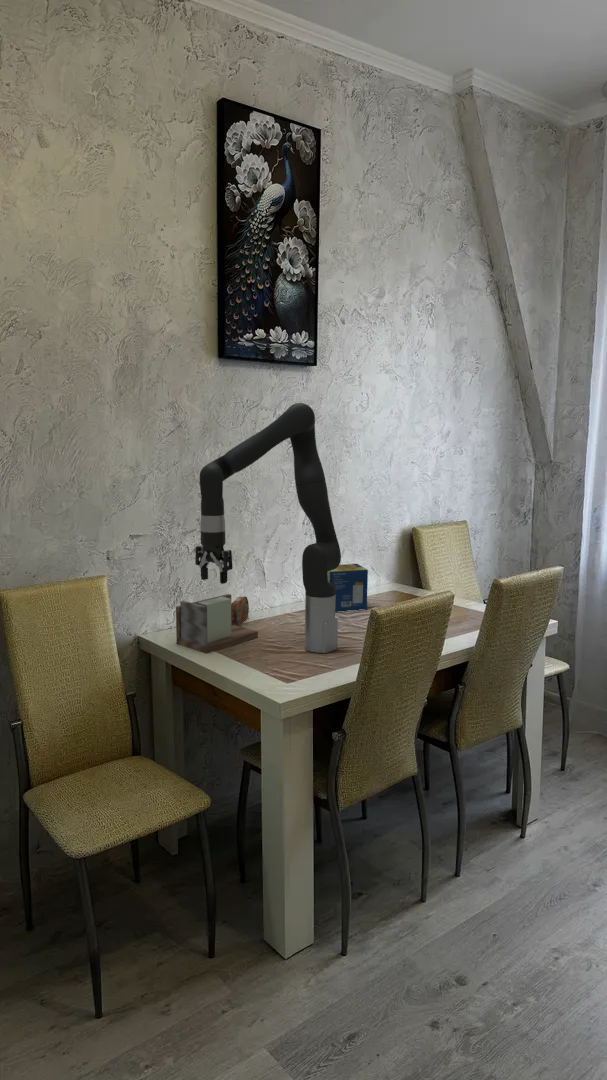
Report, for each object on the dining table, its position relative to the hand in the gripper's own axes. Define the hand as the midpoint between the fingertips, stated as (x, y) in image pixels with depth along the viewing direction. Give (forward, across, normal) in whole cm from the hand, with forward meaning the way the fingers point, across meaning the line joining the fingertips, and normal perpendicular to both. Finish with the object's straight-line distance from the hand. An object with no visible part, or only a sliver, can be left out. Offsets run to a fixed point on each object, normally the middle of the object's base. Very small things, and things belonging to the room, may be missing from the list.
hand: (213, 581), depth 231 cm
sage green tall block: (+18, 0, 0) cm, 18 cm away
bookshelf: (+20, +2, -3) cm, 21 cm away
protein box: (+20, -2, -62) cm, 66 cm away
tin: (+20, +12, -22) cm, 33 cm away
